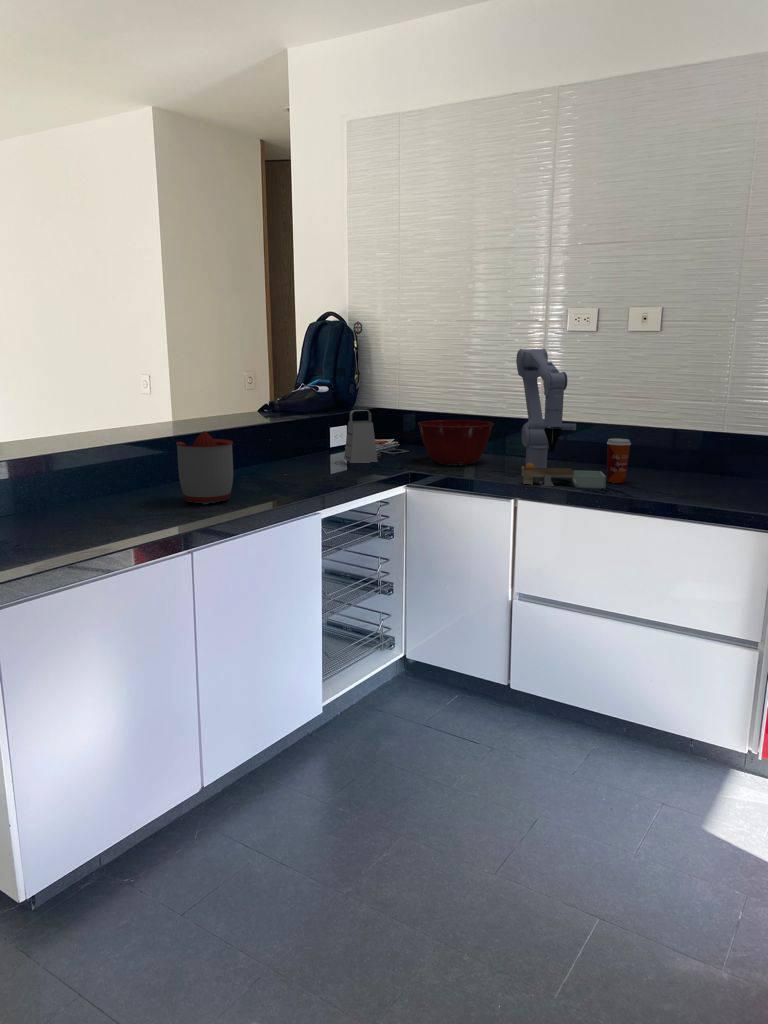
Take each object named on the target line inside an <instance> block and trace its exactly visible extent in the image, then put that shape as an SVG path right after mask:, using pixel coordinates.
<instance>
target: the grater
mask: <svg viewBox="0 0 768 1024" xmlns="http://www.w3.org/2000/svg"><path fill="white" fill-rule="evenodd" d="M365 411H367V412H368V420H353V414H354V413H355V412H365ZM375 436H376V435H375V430H374V422H372V412H371V411H370V410H368V409H355V410H354V409H353V410H351V411H350V412H349V421H348V422H347V431H346V440H345V448H344V455H343V456H344V457H343V460H344V459H346V460H347V461H349V462H350V463H370V462H378V463H379V461H378V453H377V446H376V438H375Z"/></svg>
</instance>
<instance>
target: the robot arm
mask: <svg viewBox="0 0 768 1024" xmlns="http://www.w3.org/2000/svg"><path fill="white" fill-rule="evenodd" d="M515 361H516V364H515V365H516V370H517V373H518V374H517V375H518V376H520V377H521V378H522V383H523V389H524V396H525V398H524V399H525V402H526V403H525V404H526V412H527V418H528V421H527V422H526V423H524V424H523V426H522V429H521V443H522V445H523V447H524V448H526V451H525V452H526V453H525V465H526V464H528V463H532V464H534V466H535V468H548V467H547V466H548V449H549V452H550V453H555V448H556V446H557V445H556V444H557V442H558V440H559V438H560V436H561V434H562V431H576V430H577V424H576V423H566V422H563V416H564V415H563V414H564V413H563V412H564V398H565V397H564V396H565V395H564V394H565V390H566V389H567V386H568V374H567V373H566V372H565V371H562V372H560V371H559V369H558V367H556V365H554V363H553V362H552V361H549V355H548V352H547V350H546V349H545V348H542V349H539V348H538V349H536V348H535V349H529V348H527V349H526V348H525V349H524V348H519V350H517V353H516V360H515ZM538 378H541V380H542V384H543V393H544V396H545V399H544V400H545V401H544V417H543V412H542V405H541V397H540V390H539V382H538Z"/></svg>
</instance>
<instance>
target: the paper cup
mask: <svg viewBox="0 0 768 1024" xmlns="http://www.w3.org/2000/svg"><path fill="white" fill-rule="evenodd" d="M606 445H607V447H606V451H607V453H606V456H607V457H606V482H607V481H608V482H612V483H611V484H614V483H623V484H625V482H626V477H627V471H628V464H629V455H630V449H631V448H630V447H631V445H632V443H631V441H630V439H627V438H608V439H607V442H606ZM608 482H607V483H608Z"/></svg>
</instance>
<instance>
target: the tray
mask: <svg viewBox="0 0 768 1024" xmlns="http://www.w3.org/2000/svg"><path fill="white" fill-rule="evenodd" d="M572 471H574V476H573V478H572V479H571V481H572V482H571V483H572V484H573V485H574V487H575V488H576V489H593V490H595V489H597V490H598V489H602V488H603V489H602V490H606V488H607V475H605V474H604V472H603V471H602V470H573V469H572Z"/></svg>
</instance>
